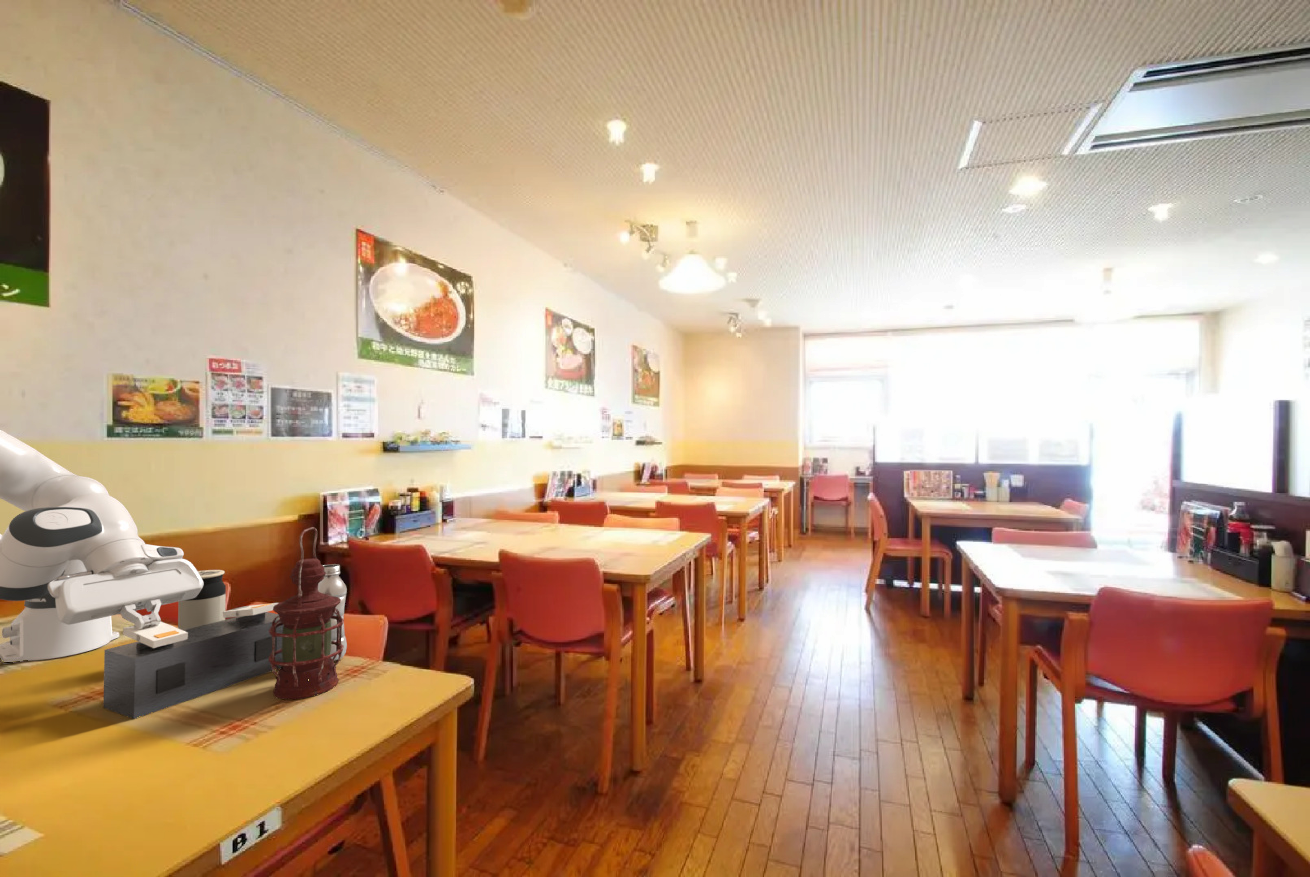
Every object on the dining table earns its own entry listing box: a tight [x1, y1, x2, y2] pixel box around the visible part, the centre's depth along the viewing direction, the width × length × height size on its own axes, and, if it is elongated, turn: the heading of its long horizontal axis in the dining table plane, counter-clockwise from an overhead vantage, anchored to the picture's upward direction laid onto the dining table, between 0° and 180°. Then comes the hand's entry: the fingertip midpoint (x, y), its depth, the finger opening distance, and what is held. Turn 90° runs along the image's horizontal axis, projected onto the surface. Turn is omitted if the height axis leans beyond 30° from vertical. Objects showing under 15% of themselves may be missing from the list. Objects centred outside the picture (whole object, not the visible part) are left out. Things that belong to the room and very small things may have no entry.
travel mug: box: [177, 569, 227, 630], centre depth 122 cm, size 8×8×18 cm
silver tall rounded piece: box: [318, 563, 348, 662], centre depth 120 cm, size 6×7×20 cm
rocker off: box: [223, 602, 279, 619], centre depth 115 cm, size 10×5×1 cm, turn 66°
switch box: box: [102, 611, 284, 720], centre depth 108 cm, size 10×26×11 cm, turn 156°
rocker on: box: [122, 621, 188, 648], centre depth 101 cm, size 10×5×1 cm, turn 66°
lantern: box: [269, 526, 345, 700], centre depth 107 cm, size 12×12×30 cm
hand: (149, 625), depth 101 cm, fingers closed, pressing on rocker on
